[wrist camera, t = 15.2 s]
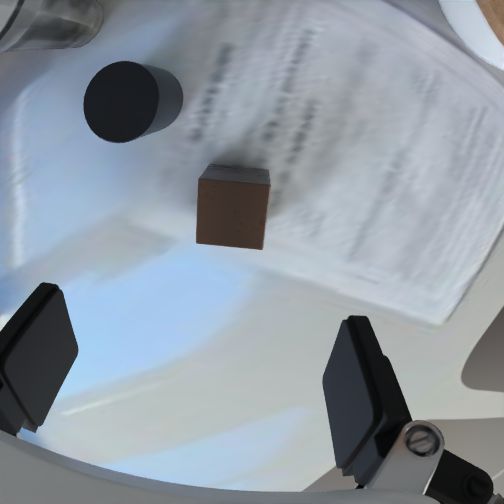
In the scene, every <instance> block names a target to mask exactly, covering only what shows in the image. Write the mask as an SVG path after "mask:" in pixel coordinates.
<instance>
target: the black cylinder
mask: <svg viewBox="0 0 504 504" xmlns="http://www.w3.org/2000/svg"><path fill="white" fill-rule="evenodd" d="M182 103H183V92H182V88H181V86H180V83H179V82H178V80H177V79H176V78H175V77H174V76H173V75H172V74H171V73H169V72H168V71H165V70H163V69H159V68H155V67H151V66H147V65H143V64H139V63H135V62H129V61H121V62H116V63H112V64H110V65H108V66H106V67H104V68H103V69H102V70H100V71H99V72H98V73H97V74H96V75H95V76H94V77H93V79H92V80H91V82H90V83H89V85H88V87H87V90H86V93H85V96H84V104H83V105H84V115H85V118H86V121H87V123H88V125H89V127H90V128H91V130H92V131H93V132H94V133H95V134H96V135H97V136H98V137H100V138H101V139H103V140H105V141H108V142H112V143H125V142H129V141H132V140H134V139H137V138H140V137H142V136H145V135H148V134H151V133H153V132H156V131H159V130H162V129H164V128H166V127H167V126H169V125H170V124H171V123H172V122H173V121H174V120H175V119H176V118H177V116H178V114H179V113H180V110H181V107H182Z"/></svg>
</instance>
